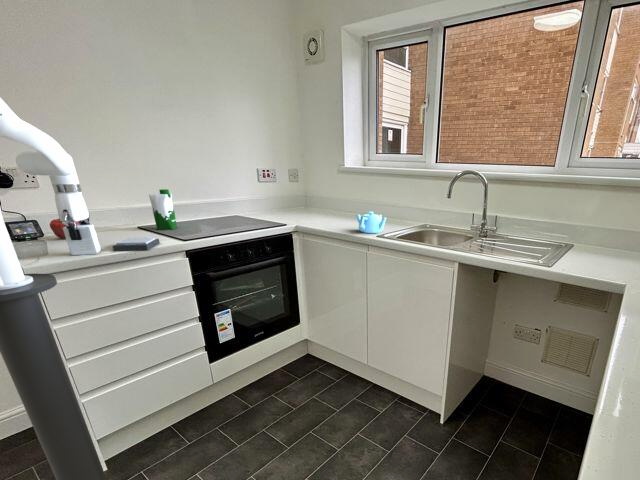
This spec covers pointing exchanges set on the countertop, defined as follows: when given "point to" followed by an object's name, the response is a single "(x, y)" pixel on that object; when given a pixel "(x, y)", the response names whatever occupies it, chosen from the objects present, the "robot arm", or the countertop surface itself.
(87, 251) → the small box
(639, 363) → the countertop surface
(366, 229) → the teapot
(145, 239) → the scale
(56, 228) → the vegetable
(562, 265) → the countertop surface
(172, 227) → the milk carton
